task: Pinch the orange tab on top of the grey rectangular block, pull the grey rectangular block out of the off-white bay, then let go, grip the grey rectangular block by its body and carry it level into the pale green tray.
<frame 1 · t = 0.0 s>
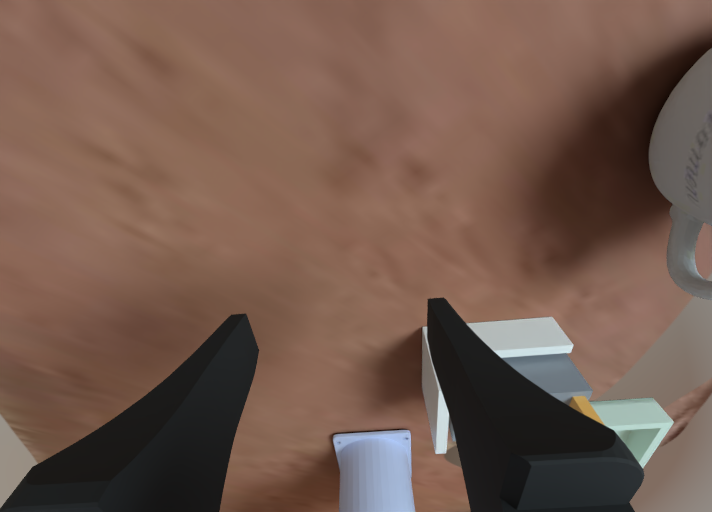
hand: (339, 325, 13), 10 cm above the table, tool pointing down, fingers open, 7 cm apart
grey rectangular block: (488, 352, 29), resting in bay
bay: (489, 354, 29), on the table
teacup: (691, 137, 20), on the table
tray: (560, 439, 35), on the table
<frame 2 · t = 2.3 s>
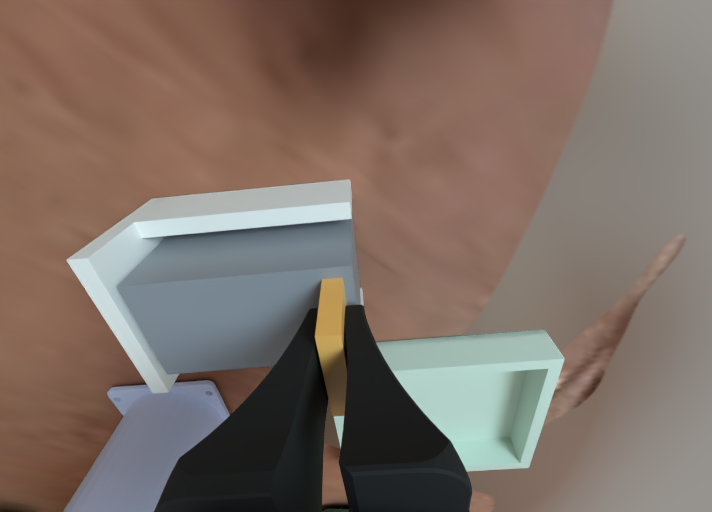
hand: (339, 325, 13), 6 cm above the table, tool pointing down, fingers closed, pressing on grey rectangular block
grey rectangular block: (276, 252, 19), resting in bay, touching gripper
bay: (278, 251, 19), on the table
character mug: (344, 510, 36), on the table
tray: (432, 396, 26), on the table
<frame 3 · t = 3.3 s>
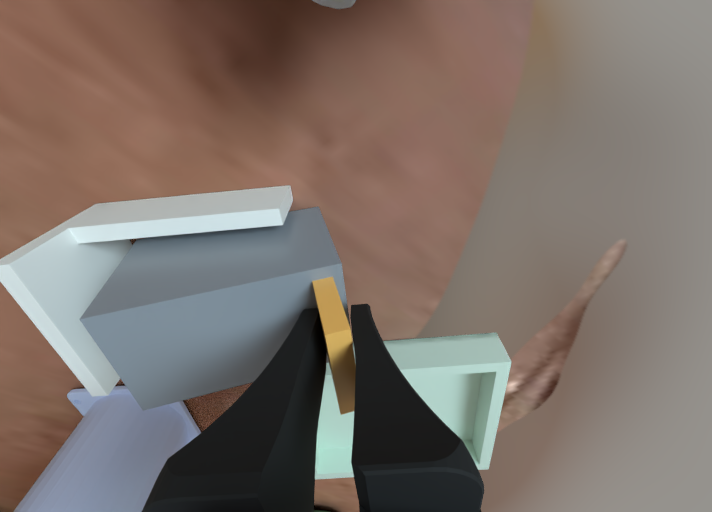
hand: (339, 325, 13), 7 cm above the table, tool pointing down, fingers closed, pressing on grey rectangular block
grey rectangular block: (244, 263, 18), point 1 cm above the table, tilted 13°, touching gripper
bay: (225, 256, 19), on the table
character mug: (316, 511, 36), on the table
tray: (391, 398, 26), on the table
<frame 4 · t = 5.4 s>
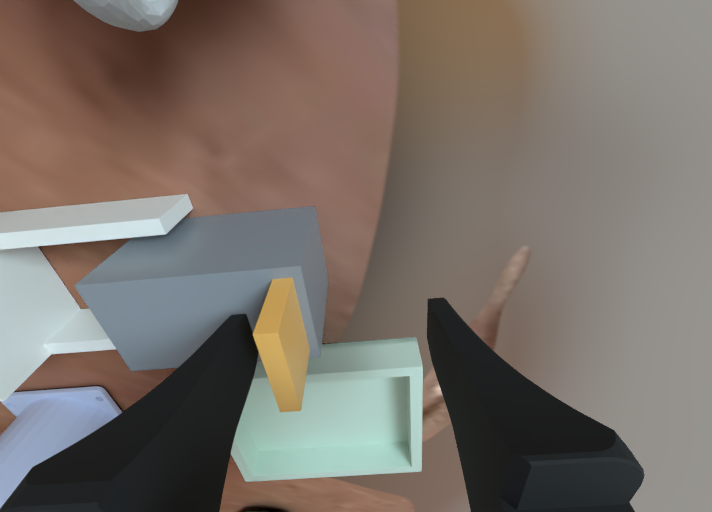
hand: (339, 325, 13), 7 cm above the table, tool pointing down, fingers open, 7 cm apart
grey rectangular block: (245, 252, 19), on the table
bay: (136, 262, 19), on the table
tray: (323, 401, 26), on the table
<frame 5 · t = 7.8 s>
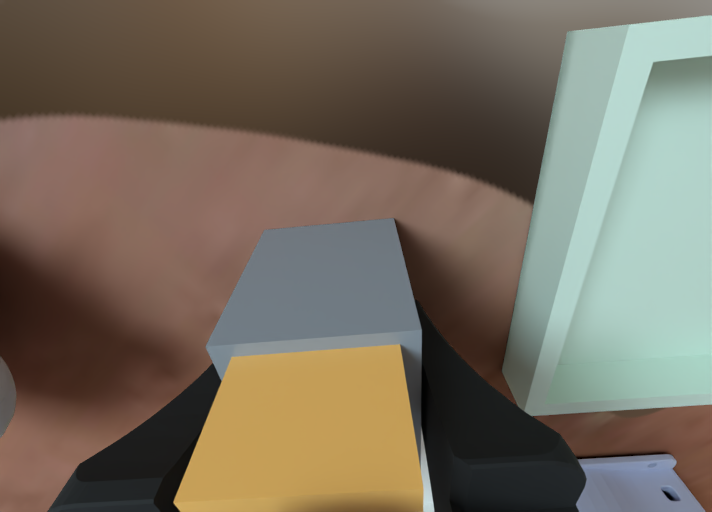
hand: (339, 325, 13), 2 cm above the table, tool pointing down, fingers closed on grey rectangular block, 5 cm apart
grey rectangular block: (342, 313, 15), on the table, touching gripper
bay: (356, 402, 18), on the table
tray: (688, 235, 13), on the table
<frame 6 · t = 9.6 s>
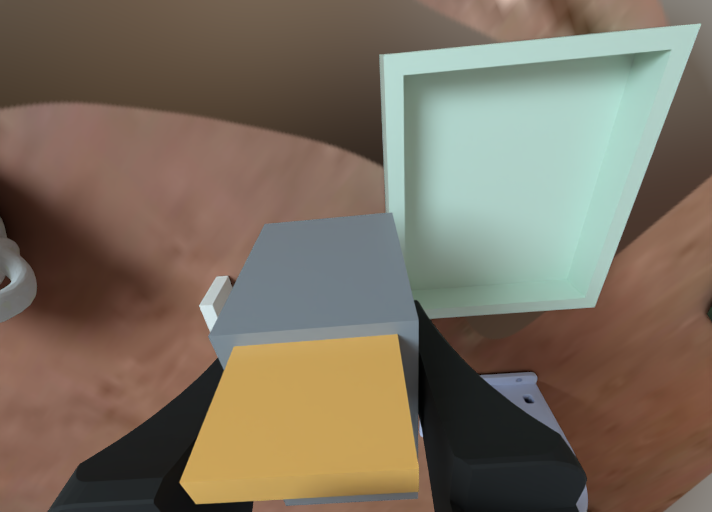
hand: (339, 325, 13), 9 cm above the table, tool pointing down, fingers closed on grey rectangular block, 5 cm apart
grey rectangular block: (341, 306, 15), point 7 cm above the table, touching gripper
bay: (285, 322, 24), on the table
tray: (493, 190, 19), on the table
when the fingers open (3 cm above the table, at t = 11.7 s): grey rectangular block stays where it is, resting on tray.
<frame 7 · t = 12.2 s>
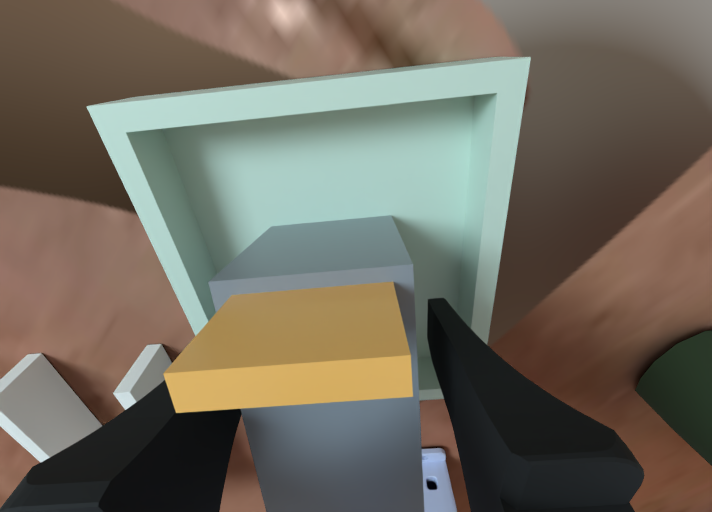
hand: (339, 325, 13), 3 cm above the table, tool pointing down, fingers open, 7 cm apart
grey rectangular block: (342, 317, 15), point 2 cm above the table, tilted 13°, touching tray
bay: (130, 400, 20), on the table
character mug: (683, 358, 19), on the table
tray: (338, 257, 15), on the table
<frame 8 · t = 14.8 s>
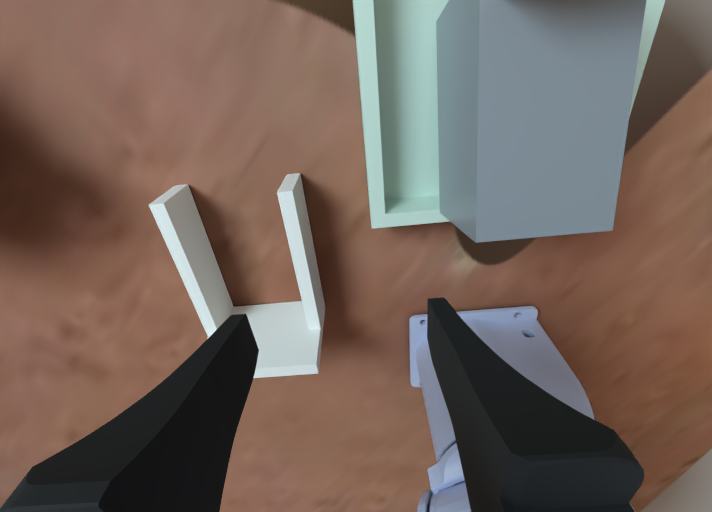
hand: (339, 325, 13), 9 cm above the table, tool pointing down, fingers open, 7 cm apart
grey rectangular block: (488, 119, 17), point 2 cm above the table, tilted 13°, touching tray
bay: (256, 245, 22), on the table
tray: (483, 66, 17), on the table
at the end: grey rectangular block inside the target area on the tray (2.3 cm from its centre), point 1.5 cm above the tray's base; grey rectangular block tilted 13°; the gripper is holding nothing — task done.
